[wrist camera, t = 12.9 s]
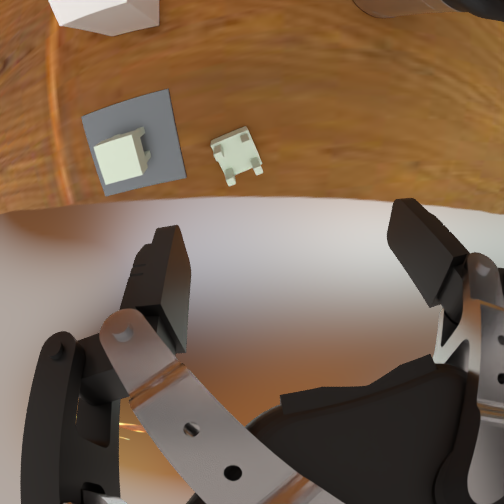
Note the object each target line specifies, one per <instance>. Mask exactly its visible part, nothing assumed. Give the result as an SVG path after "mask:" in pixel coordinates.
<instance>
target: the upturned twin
mask: <svg viewBox="0 0 504 504" xmlns="http://www.w3.org/2000/svg"><path fill="white" fill-rule="evenodd" d="M211 148H212V150H213V152H214V154H213V155H214V157H215V159H216V161H218V162H219V164H220V166H221V168H222V170H223V172H224V174H225V176H226V182H227V184H228V186H232V185H234V184H236V180H235V175H236V174H239V173H241V172H244V171H246V170H249V169H251V168H253V169H254V171H255V174H256V175H259V174H261V173H263V170H262V168H261V164H262V162H261V159H260V157H259V154H258V152H257V150H256V147H255V145H254V142H253V140H252V138H251V135H250V133H249V131H248V129H247V127H246V126H244V127H242V128H239V129H237V130H235V131H232V132H230V133H227V134H225V135H223V136H220V137H218V138H216V139H213V140H211Z"/></svg>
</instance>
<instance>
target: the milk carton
mask: <svg viewBox="0 0 504 504" xmlns="http://www.w3.org/2000/svg"><path fill="white" fill-rule="evenodd" d="M49 3H50V5H51V7H52V10H53V12H54V14H55V16H56V19H57V21H58V23H59V25H60V26H65V27H71V28H77V29H82V30H87V31H91V32H96V33H100V34H104V35H108V36H116V35H120V34H124V33H127V32H131V31H136V30H140V29H145V28H149V27H154V26H159V0H49Z"/></svg>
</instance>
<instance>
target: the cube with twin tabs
mask: <svg viewBox="0 0 504 504" xmlns="http://www.w3.org/2000/svg"><path fill="white" fill-rule="evenodd" d="M143 134H145V130H144V127H140V128H137V129H136V130H134V131H131V132H128V133H124V134H117V135H114V136H113V137H112V138H109V139H106V140H103V141H101V142H100V143H98V144H97V145H96V146H94V151H95V154H96V157H97V160H98V163H99V167H100V170H101V173H102V176H103V178H104V181H105V184H106V185H107V184H111V183H114V182H118V181H122V180H125V179H129V178H133V177H137V176H141V175H143V174H144V172H145V171H146V169H147V168H148V165H147V162H148V160H149V159H150V157H151V153H150V150H149V151H145V152H144V151H143V147H142V143H141V139H140V137H141V136H142V135H143Z"/></svg>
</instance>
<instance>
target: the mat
mask: <svg viewBox="0 0 504 504" xmlns="http://www.w3.org/2000/svg"><path fill="white" fill-rule="evenodd" d="M81 118H82V122H83V126H84V129H85V133H86V137H87V140H88V144H89V147H90V151H91V154H92V157H93V160H94V164H95V167H96V170H97V173H98V176H99V179H100V182H101V185H102V187H103V190H104V193H105V196H109V195H113V194H117V193H121V192H125V191H129V190H133V189H137V188H141V187H146V186H150V185H155V184H159V183H164V182H168V181H173V180H178V179H183V178H186V177H187V176H186V171H185V167H184V162H183V158H182V153H181V149H180V144H179V139H178V134H177V129H176V125H175V120H174V115H173V109H172V104H171V99H170V93H169V89H166V90H162V91H158V92H154V93H150V94H147V95H143V96H140V97H136V98H133V99H130V100H126V101H123V102H120V103H117V104H114V105H111V106H109V107H106V108H103V109H100V110H98V111H95V112H92V113H90V114H87V115H85V116H82V117H81ZM140 127H144V130H145V134H143V135H142V136H141V137H140V139H141V143H142V147H143V151H144V152H145V151H149V150H150V153H151V157H150V159H149V160H148V162H147V165H148V168H147V169H146V171H145V172H144V174H143V175H141V176H137V177H133V178H129V179H125V180H122V181H118V182H114V183H111V184H107V185H106V184H105V181H104V178H103V176H102V173H101V170H100V167H99V163H98V160H97V157H96V154H95V151H94V146H96V145H97V144H98V143H100V142H101V141H103V140H106V139H109V138H112V137H113V136H114V135H117V134H124V133H128V132H131V131H134V130H136V129H137V128H140Z"/></svg>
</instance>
